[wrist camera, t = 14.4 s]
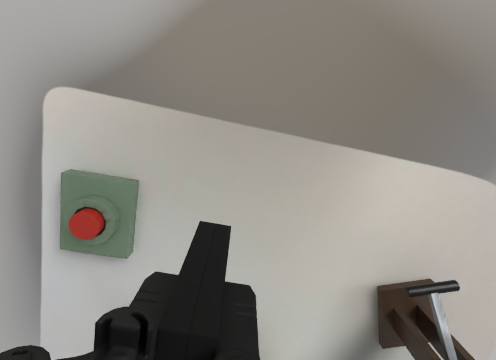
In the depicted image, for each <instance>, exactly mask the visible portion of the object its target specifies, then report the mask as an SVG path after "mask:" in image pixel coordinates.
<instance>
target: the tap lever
mask: <svg viewBox="0 0 496 360" xmlns="http://www.w3.org/2000/svg"><path fill="white" fill-rule="evenodd" d="M459 289H460V287H459V284H458V283H457V281H455V280H451V281H444V282H436V283H429V284H422V285H415V286H408V287H405V288H404V291H405V294H406V296H407V297H409V298H410V297H417V296H424V295H428V298H429V302H430V306H431V309H432V313H433V316H434V320H435V324H436V327H437V331H438V335H439V338H440V342H441V345H442V349H443V353H444V356H445V360H457V356H456V353H455V349H454V346H453V342H452V339H451V335H450V332H449V328H448V325H447V321H446V318H445V314H444V311H443V307H442V304H441V300H440V297H439V293H446V292H453V291H459Z"/></svg>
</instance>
